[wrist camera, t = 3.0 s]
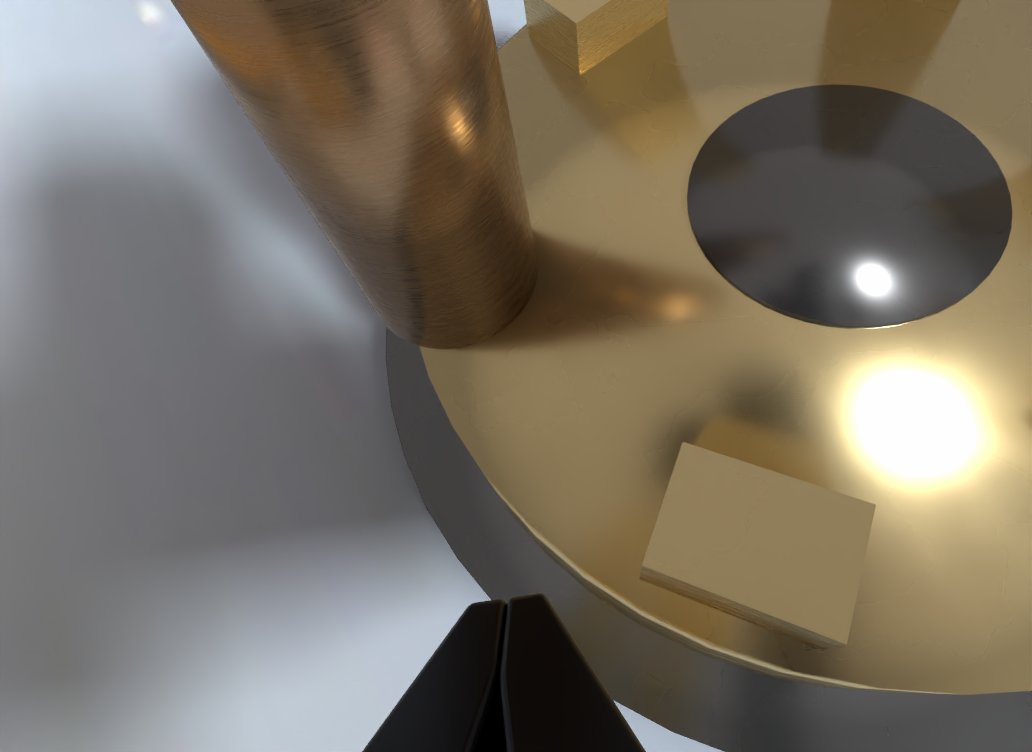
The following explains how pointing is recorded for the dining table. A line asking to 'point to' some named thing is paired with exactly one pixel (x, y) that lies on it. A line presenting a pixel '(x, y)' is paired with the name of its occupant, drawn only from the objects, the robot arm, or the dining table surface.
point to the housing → (654, 658)
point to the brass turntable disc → (704, 296)
